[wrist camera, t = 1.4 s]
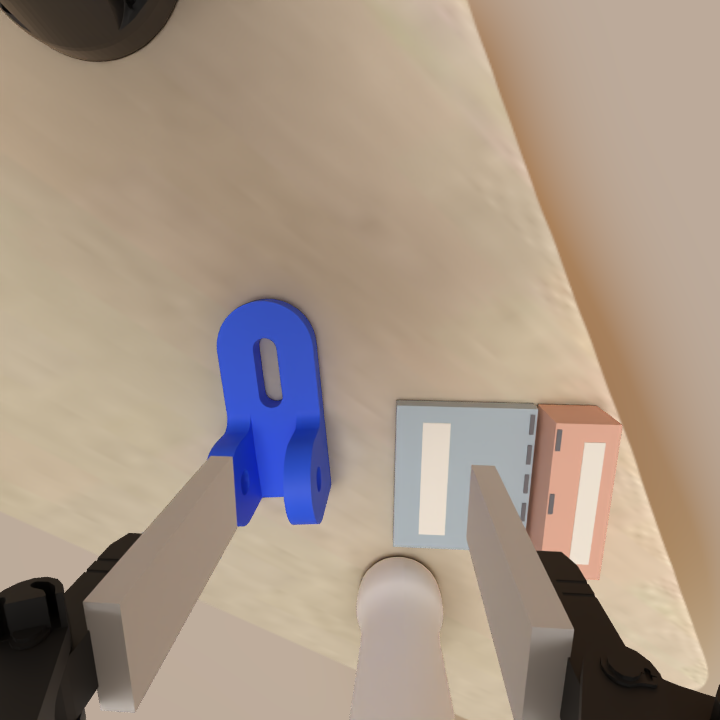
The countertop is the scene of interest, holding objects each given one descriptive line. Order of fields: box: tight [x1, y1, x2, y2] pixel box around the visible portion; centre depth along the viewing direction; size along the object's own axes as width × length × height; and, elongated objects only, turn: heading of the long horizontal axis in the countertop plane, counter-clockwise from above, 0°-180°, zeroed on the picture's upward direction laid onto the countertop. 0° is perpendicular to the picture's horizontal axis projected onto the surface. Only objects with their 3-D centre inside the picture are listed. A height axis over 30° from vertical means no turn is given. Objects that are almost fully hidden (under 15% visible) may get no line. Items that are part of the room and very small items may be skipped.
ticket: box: [393, 400, 538, 550], centre depth 41 cm, size 14×12×2 cm
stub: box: [526, 404, 622, 580], centre depth 39 cm, size 14×5×5 cm, turn 0°
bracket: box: [208, 299, 331, 526], centre depth 37 cm, size 18×8×9 cm, turn 5°
